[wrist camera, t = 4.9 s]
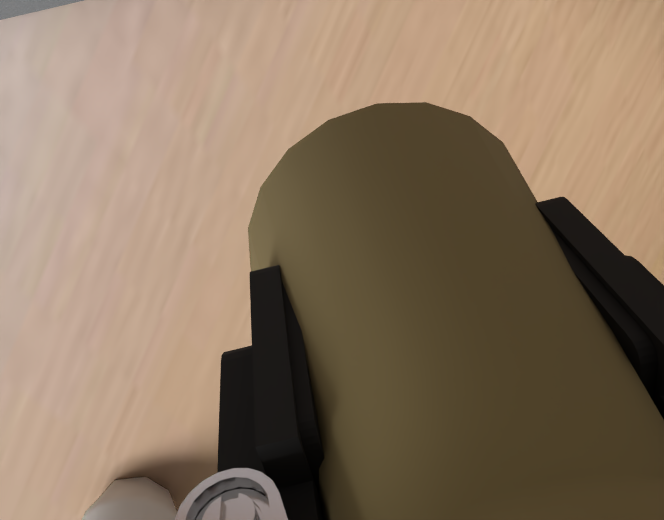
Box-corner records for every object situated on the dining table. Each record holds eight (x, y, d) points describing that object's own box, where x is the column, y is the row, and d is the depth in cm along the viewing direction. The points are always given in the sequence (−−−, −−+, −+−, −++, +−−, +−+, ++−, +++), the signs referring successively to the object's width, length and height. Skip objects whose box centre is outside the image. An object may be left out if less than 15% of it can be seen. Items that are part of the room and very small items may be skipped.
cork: (189, 192, 12) (22, 1297, 3) (477, 42, 11) (1687, 870, 2) (326, 387, 15) (468, 1199, 6) (557, 281, 14) (1150, 1028, 5)
